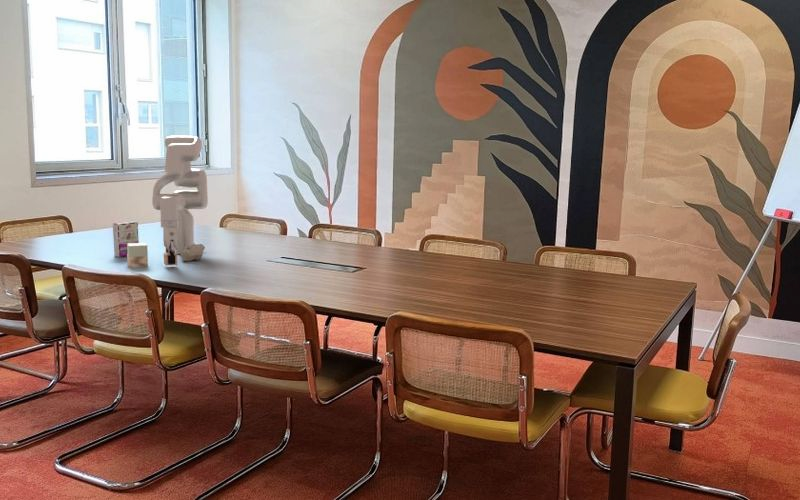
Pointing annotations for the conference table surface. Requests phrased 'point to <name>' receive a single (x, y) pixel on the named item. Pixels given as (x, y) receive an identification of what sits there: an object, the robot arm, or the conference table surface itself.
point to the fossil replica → (192, 252)
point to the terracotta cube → (167, 259)
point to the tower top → (137, 249)
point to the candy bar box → (124, 237)
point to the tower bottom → (137, 261)
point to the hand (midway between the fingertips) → (170, 262)
